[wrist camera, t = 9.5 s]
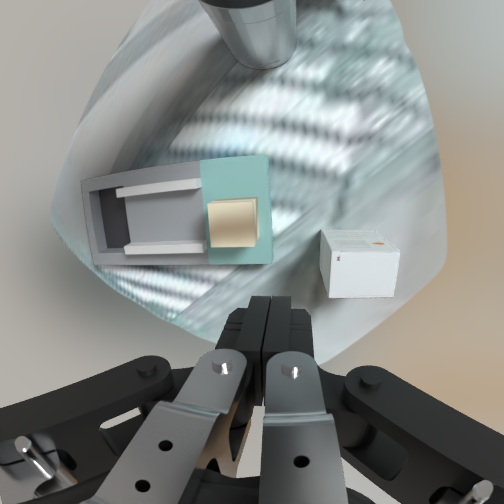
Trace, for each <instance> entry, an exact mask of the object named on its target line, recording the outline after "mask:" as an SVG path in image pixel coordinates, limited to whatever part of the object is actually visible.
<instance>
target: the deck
mask: <svg viewBox="0 0 504 504" xmlns="http://www.w3.org/2000/svg"><path fill="white" fill-rule="evenodd" d="M81 188H82V197H83V204H84V212H85V218H86V225H87V231H88V236H89V242H90V247H91V252H92V257H93V262H94V265H217V264H272V261H273V257H274V256H273V235H272V215H271V196H270V179H269V163H268V155H254V156H240V157H228V158H217V159H208V160H199V161H190V162H182V163H175V164H168V165H161V166H154V167H148V168H142V169H136V170H130V171H125V172H120V173H114V174H109V175H104V176H100V177H95V178H90V179H86V180H81ZM243 197H258V214H259V235H260V236H259V238H258V240H257V242H256V245H255V247H211V241H210V230H209V218H208V206H207V204H208V203H211V202H213V201H215V200H217V199H222V198H243Z"/></svg>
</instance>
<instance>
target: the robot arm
mask: <svg viewBox="0 0 504 504" xmlns="http://www.w3.org/2000/svg"><path fill="white" fill-rule="evenodd" d="M198 1H199V2H200V4H201V5H202V7H203V8H204V10H205V11H206V12H207V14H208V16H209V17H210V19H211V20H212V22H213V23H214V25H215V26H216V28H217V30H218V31H219V33H220V34H221V36H222V38H223V39H224V41H225V42H226V44H227V46H228V47H229V49H230V51H231V52H232V54H233V56H234V57H235V58H236V59H237V60H238V61H239V62H240V63H241V64H243V65H245V66H247V67H250V68H254V69H271V68H274V67H277V66H280V65H281V64H283V63H285V62H286V61H287V60H288V59H290V57H291V56H292V55H293V53H294V51H295V48H296V0H198ZM263 396H264V406H265V416H264V418H263V435H262V453H261V472H260V476H255V477H245V478H236V473H237V467H238V464H239V461H240V458H241V455H242V452H243V449H244V446H245V442H246V439H247V436H248V433H249V429H250V426H251V417H252V413H253V408H254V406H262V402H263ZM137 407H138V409H139V411H140V413H141V414H140V415H138V416H136V417H133V418H131V419H129V420H127V421H125V422H122V423H120V424H118V425H115V426H113V427H111V428H107V429H103V428H100V425H101V424H102V423H103V422H105V421H107V420H109V419H112V418H114V417H117V416H119V415H121V414H124V413H126V412H128V411H130V410H133V409H135V408H137ZM341 457H342V458H343V459H344V460H346V461H347V462H348V463H349V464H351V465H352V466H353V467H354V468H355V469H357V470H358V471H359V472H360V473H361V474H363V475H364V476H365V477H366V478H368V479H369V480H370V481H372V482H373V483H374V484H375V485H377V486H378V487H379V488H381V489H382V490H383V491H385V492H386V493H387V494H389V495H390V496H391V497H393V498H394V499H396V500H397V501H398V502H400V503H401V504H504V435H502V434H500V433H498V432H496V431H494V430H492V429H491V428H489V427H487V426H485V425H483V424H481V423H479V422H477V421H476V420H474V419H472V418H470V417H468V416H466V415H464V414H463V413H461V412H459V411H457V410H455V409H454V408H452V407H450V406H448V405H446V404H444V403H443V402H441V401H439V400H437V399H436V398H434V397H432V396H430V395H428V394H427V393H425V392H423V391H422V390H420V389H418V388H416V387H415V386H413V385H411V384H409V383H408V382H406V381H404V380H402V379H401V378H399V377H397V376H396V375H394V374H392V373H390V372H388V371H387V370H385V369H383V368H381V367H377V366H360V367H357V368H354V369H353V370H351V371H350V372H349V373H348V374H347V375H346V376H340V375H335V374H331V373H328V372H326V371H324V370H323V369H321V368H320V367H319V366H318V365H317V363H316V361H315V360H314V350H313V337H312V326H311V316H310V314H309V313H308V312H307V311H306V310H305V309H291V296H272V299H271V296H251V299H250V302H249V305H248V308H237V309H236V310H234V311H233V312H232V313H231V314H229V317H228V319H227V321H226V324H225V326H224V330H223V331H222V333H221V336H220V338H219V340H218V343H217V345H216V347H215V350H213V351H210V352H208V353H206V354H204V355H203V356H202V357H201V358H200V359H199V361H198V362H197V364H196V366H195V367H191V368H182V369H171V367H170V364H169V362H168V361H167V360H166V359H164V358H162V357H159V356H143V357H140V358H137V359H134V360H133V361H130V362H127V363H125V364H122V365H120V366H117V367H115V368H112V369H110V370H108V371H105V372H103V373H100V374H97V375H95V376H92V377H89V378H87V379H84V380H82V381H79V382H76V383H73V384H71V385H68V386H65V387H63V388H60V389H57V390H54V391H51V392H48V393H46V394H43V395H40V396H37V397H34V398H31V399H28V400H25V401H22V402H19V403H16V404H13V405H9V406H6V407H3V408H0V496H1V500H2V504H375V503H374V502H373V501H372V500H370V499H369V498H368V497H366V496H364V495H363V494H361V493H359V492H357V491H355V490H353V489H350V488H347V487H346V485H345V479H344V472H343V466H342V461H341Z"/></svg>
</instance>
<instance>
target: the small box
mask: <svg viewBox="0 0 504 504" xmlns="http://www.w3.org/2000/svg"><path fill="white" fill-rule="evenodd" d="M399 258H400V251H399V250H398V249H397V248H396V247H394V246H393V245H392V244H391V243H390V242H388V241H387V240H386V239H385V238H384V237H382V236H381V235H380V234H379V233H377V232H376V231H375V230H335V229H321V241H320V262H319V267H320V271H321V274H322V278H323V281H324V285H325V289H326V292H327V296H328V298H393V295H394V290H395V284H396V278H397V272H398V265H399Z"/></svg>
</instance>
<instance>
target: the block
mask: <svg viewBox="0 0 504 504" xmlns="http://www.w3.org/2000/svg"><path fill="white" fill-rule="evenodd" d="M207 206H208V218H209V230H210V241H211V247H255V245H256V242H257V240H258V238H259V236H260V235H259V214H258V197H243V198H222V199H217V200H215V201H213V202H211V203H208V204H207Z"/></svg>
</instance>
